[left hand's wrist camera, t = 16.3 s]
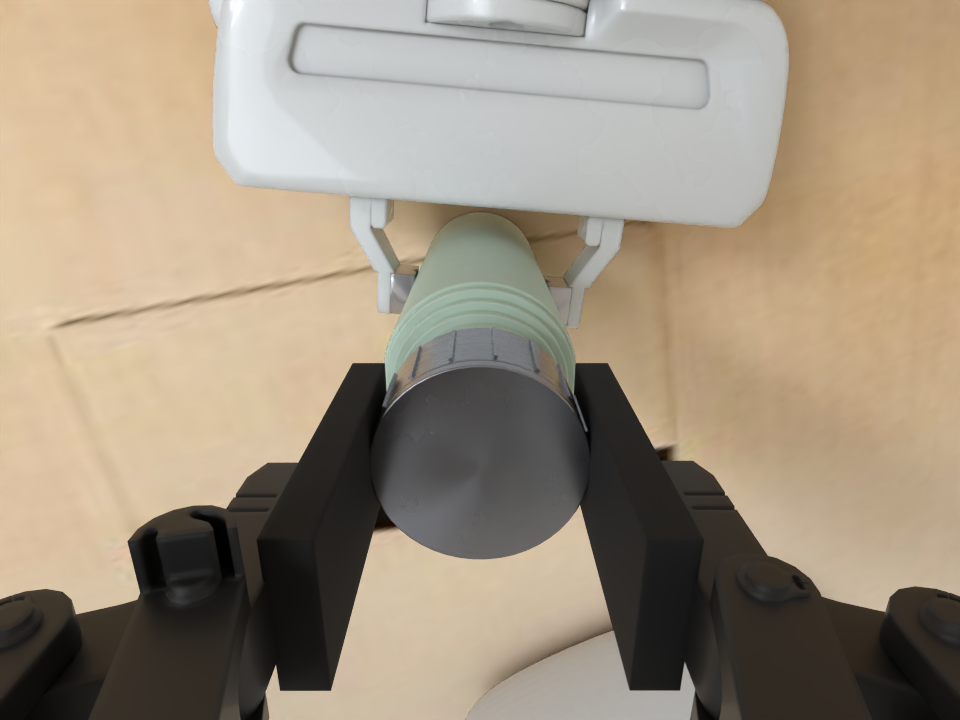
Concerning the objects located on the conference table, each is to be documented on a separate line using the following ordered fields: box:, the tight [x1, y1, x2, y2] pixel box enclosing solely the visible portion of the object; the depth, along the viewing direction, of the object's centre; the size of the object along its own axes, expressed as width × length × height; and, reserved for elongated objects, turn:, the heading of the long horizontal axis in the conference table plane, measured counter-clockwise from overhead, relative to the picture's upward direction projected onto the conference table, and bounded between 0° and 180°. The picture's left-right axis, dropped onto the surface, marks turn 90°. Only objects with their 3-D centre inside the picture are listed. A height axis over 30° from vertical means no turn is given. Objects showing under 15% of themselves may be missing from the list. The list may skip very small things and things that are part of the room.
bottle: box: [384, 212, 576, 394], centre depth 22 cm, size 5×5×19 cm
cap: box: [370, 327, 591, 559], centre depth 13 cm, size 5×5×2 cm
